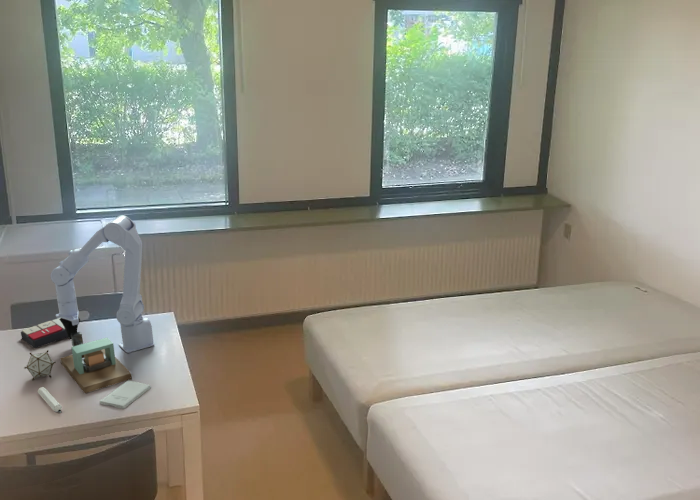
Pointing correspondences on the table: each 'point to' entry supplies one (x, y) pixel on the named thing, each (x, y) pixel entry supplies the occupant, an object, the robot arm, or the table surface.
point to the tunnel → (90, 348)
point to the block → (94, 358)
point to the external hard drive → (125, 394)
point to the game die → (40, 365)
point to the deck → (96, 374)
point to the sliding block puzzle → (44, 333)
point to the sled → (78, 340)
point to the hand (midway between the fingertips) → (72, 337)
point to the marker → (50, 399)
